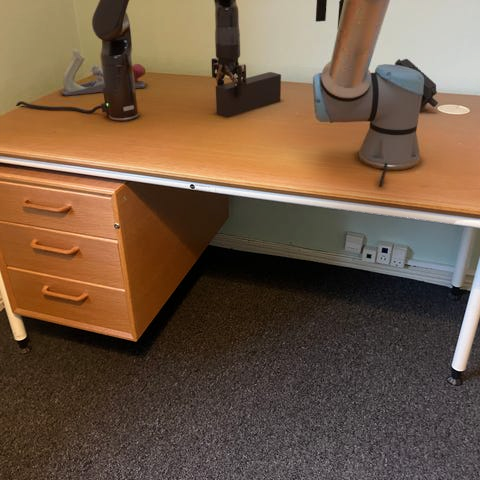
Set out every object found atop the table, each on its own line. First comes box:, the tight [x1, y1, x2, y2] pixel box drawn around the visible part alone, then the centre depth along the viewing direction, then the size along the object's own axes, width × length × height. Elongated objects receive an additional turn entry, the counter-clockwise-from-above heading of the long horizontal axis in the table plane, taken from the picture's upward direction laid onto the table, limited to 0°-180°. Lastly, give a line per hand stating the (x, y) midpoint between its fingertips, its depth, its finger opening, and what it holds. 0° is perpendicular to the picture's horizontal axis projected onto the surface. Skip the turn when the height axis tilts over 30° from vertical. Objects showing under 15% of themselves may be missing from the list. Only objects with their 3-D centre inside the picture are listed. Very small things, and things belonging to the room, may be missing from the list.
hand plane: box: [61, 48, 146, 96], centre depth 194 cm, size 7×31×15 cm, turn 107°
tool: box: [394, 58, 439, 110], centre depth 172 cm, size 6×19×15 cm, turn 51°
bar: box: [215, 71, 282, 118], centre depth 175 cm, size 24×5×9 cm, turn 131°
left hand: (229, 94), depth 169 cm, fingers open, 7 cm apart
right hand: (331, 25), depth 144 cm, fingers open, 13 cm apart
